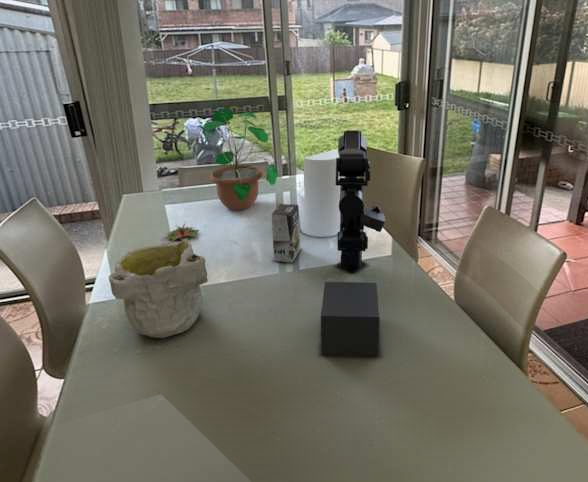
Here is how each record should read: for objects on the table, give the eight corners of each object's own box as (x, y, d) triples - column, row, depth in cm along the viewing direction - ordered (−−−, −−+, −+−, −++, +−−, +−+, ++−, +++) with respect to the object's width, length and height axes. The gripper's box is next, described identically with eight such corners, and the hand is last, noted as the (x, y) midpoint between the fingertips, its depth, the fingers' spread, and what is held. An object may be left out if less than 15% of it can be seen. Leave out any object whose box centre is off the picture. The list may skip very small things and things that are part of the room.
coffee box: (293, 263, 137) (290, 215, 131) (273, 261, 138) (270, 214, 132) (301, 249, 145) (299, 204, 140) (282, 247, 147) (279, 203, 141)
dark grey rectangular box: (325, 317, 111) (324, 281, 107) (375, 318, 111) (376, 282, 107) (321, 355, 99) (320, 315, 95) (377, 356, 98) (379, 317, 94)
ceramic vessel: (86, 282, 112) (140, 201, 111) (173, 314, 125) (221, 241, 124) (78, 333, 93) (143, 235, 92) (181, 364, 105) (239, 278, 104)
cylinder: (356, 226, 162) (357, 152, 152) (322, 241, 151) (321, 163, 140) (323, 213, 173) (322, 144, 163) (290, 226, 162) (286, 153, 152)
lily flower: (186, 245, 149) (184, 233, 147) (157, 240, 152) (155, 228, 151) (206, 231, 159) (205, 219, 158) (179, 226, 163) (177, 215, 161)
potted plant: (275, 218, 169) (269, 115, 155) (200, 218, 170) (187, 116, 156) (284, 190, 198) (280, 102, 184) (221, 190, 199) (211, 102, 184)
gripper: (386, 217, 101) (383, 276, 107) (381, 189, 119) (379, 241, 124) (337, 216, 102) (338, 275, 108) (340, 189, 119) (340, 240, 125)
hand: (351, 256), depth 116 cm, fingers closed
